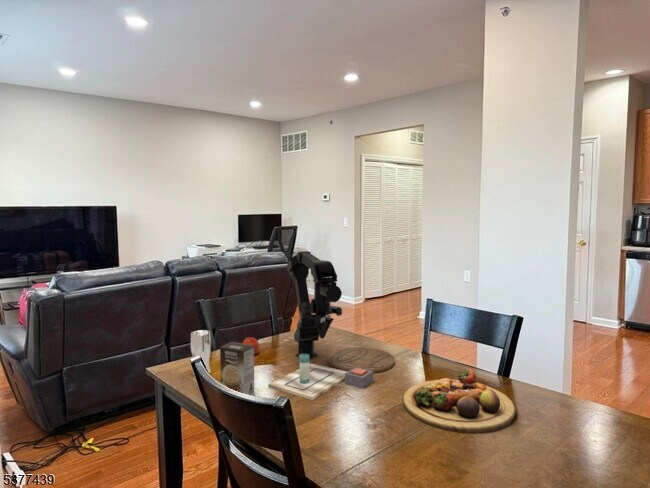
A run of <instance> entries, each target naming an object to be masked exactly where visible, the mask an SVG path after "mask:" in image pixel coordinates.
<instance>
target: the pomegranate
mask: <svg viewBox="0 0 650 488" xmlns="http://www.w3.org/2000/svg"><path fill="white" fill-rule="evenodd" d="M260 339H261V338H260V337H258V338H255V337H251V336H249V337H246V338H244V340H243V341H242V343H243V344H248V345H254V355H256V354H258V352H259V350H260V346H261V345H260V343H259V340H260Z"/></svg>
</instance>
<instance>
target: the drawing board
mask: <svg viewBox="0 0 650 488" xmlns="http://www.w3.org/2000/svg"><path fill="white" fill-rule="evenodd" d="M346 372H347V371H343V370H338V369H335V368H333V367H329V366H325V365H320V364H317V363H313V362H311V363H310V362H309V379H310V382H309V383H306V384H302V383H300V368H298V369H296V370H294V371H292V372H290V373H288V374H286V375H284V376H282V377H280V378H278V379H276V380H274V381H272V382H270V383H268V385H267V386H268V388H270V389H273V390H277V391H280V392H282V393H287V394H290V395H295V396H297V397H301V398H305V399H307V400H310V401H314V400H316V399H317V398H318V397H320V396H322V395H323V394H325V393H327V392H329V391H330V390H331V389H333V388H335V387H336V386H338V385H340V384H341V383H343V382H345V373H346Z"/></svg>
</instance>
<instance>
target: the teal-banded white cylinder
mask: <svg viewBox="0 0 650 488" xmlns="http://www.w3.org/2000/svg"><path fill="white" fill-rule="evenodd" d="M298 359H299V360H298V361H299V369H300V383H302V384H306V383H309V382H310V379H309V364H310V359H311V358H309V354H300V355H299V357H298Z"/></svg>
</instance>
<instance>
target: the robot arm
mask: <svg viewBox="0 0 650 488" xmlns="http://www.w3.org/2000/svg"><path fill="white" fill-rule="evenodd" d="M286 265H287V266H286V269H287V272H288V274H289V278H291V280H292V281H293V282H294V287H295V293H296V299H297V306H298V314H299V319H298V321H297V324H296V327H297V328H296V329H295V332H294V335H293V339H294V342H295V343H297V344H298V346H297V348H298V351H297V352H298V353H297V354H295V357H298V358H299V355H300V354H309V359H312V358H313V357H315V356H318V353H317V352H315V342H317V341H319V338H320V339H323V340H324V339H325V337H326V335H327V333H328V330H329V328H330V326H331V325H332V323H333V321H334V320H335V319H334V318H333V317H332V316H331V315H333V314H335V315H336V316H338V317H341V316H342V315H343V309H342V308H341V307H340V306H336V305H335V306H334V305H331V303H336V302H338V301H340V299H341V298H342V294H343V292H342V289H341V287H339V286H338V285H337V282H338V275H337V272H336V270H335V267H334V265H333V263H332V262H331V261H329V260H325V259H324V260H323V259H322V260H321V259H319V258H318V257H316V256H315V255H313V254H312V253H311V251H308V250H304V251H299V252H298V251H297V253H296V254H295V255H294V256H293V257H291V258H289V260H288V261H287V264H286ZM309 270H310V271H309ZM309 274H311V276H312V278H313V280H312V281H313V283H314V289H313V291H314V292H313V293H314V297H313V298H312V299H311V300H310V296H309V290H308V285H307V278H308V276H309Z"/></svg>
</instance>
